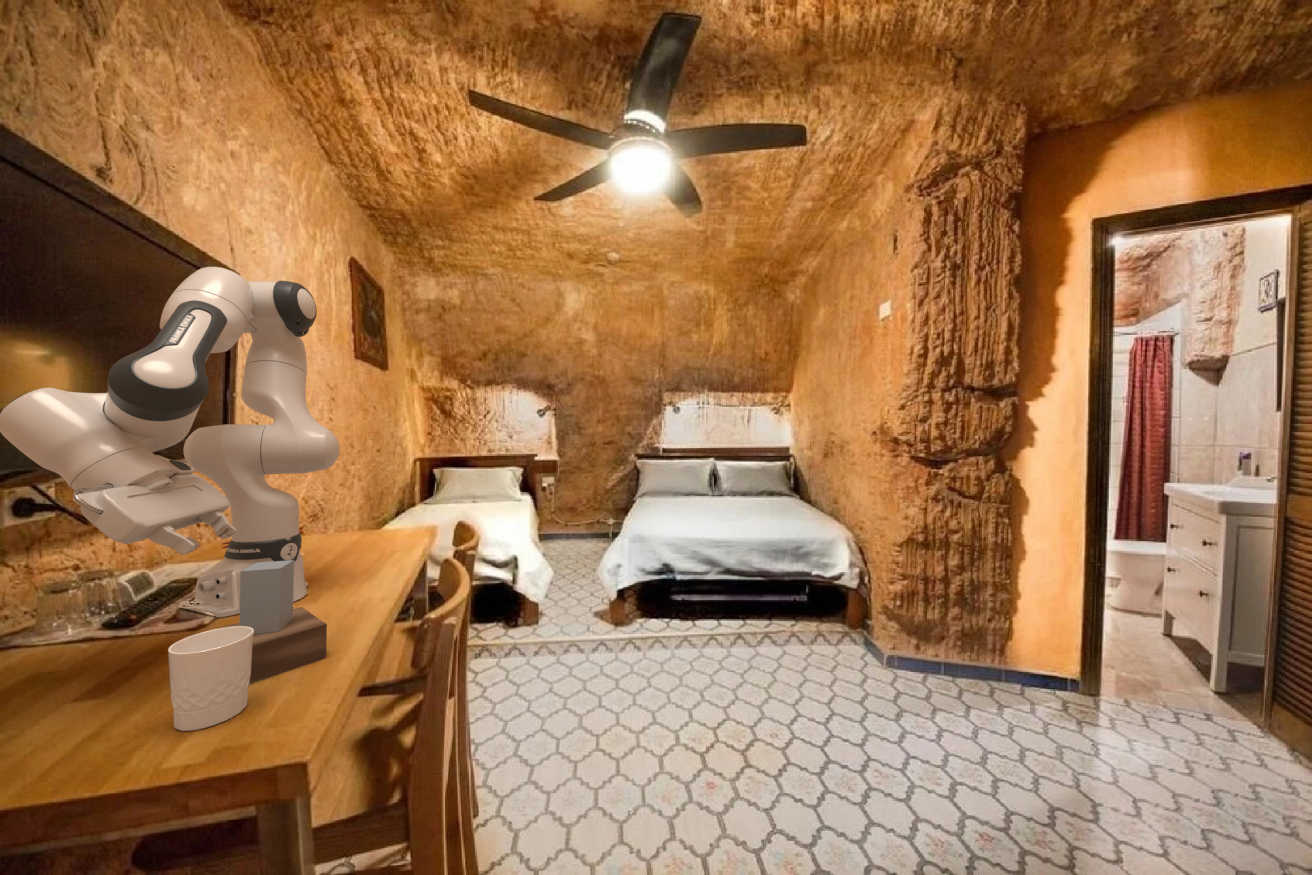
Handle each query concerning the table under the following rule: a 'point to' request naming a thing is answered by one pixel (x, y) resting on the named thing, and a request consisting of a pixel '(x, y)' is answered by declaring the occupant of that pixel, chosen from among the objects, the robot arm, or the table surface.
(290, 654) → the walnut box
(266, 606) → the slate block
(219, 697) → the white cup
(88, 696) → the table surface
